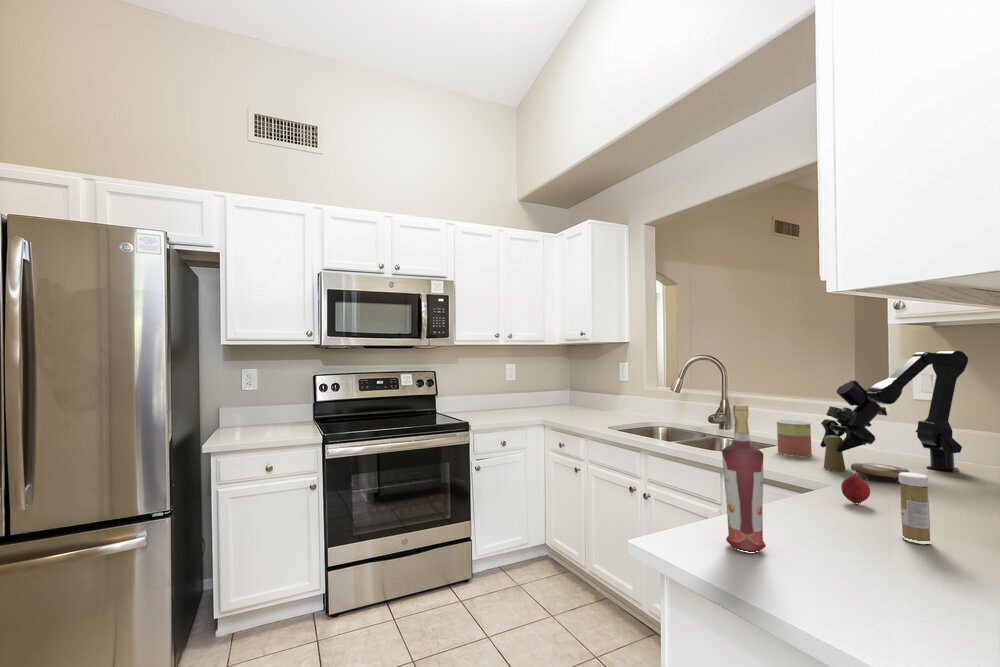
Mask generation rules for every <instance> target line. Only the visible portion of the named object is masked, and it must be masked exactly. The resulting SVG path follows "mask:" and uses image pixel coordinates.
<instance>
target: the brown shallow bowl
mask: <svg viewBox="0 0 1000 667" xmlns="http://www.w3.org/2000/svg"><path fill="white" fill-rule="evenodd" d="M850 469H851V470H852V471H854V472H856V473H858V474H859V475H858V477H860V478H861V479H869V480H870V475H871V476H875V477H876V476H878V477H884V478H885V477H886V478H895V479H894V481H895V482H896V483H899V473H902V472H910V470H908V468H906V467H905V468H904V467H899V466H896V465H890V464H882V463H872V462H871V463H870V462H858V463H852V464H850Z"/></svg>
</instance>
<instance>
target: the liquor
mask: <svg viewBox="0 0 1000 667" xmlns="http://www.w3.org/2000/svg"><path fill="white" fill-rule="evenodd" d="M732 410H733V418H734V433H733V443H731V444H729V445H726V446H725V447H724V448H723V449H722V450H721V456H722V458H721V459H722V466H723V467H722V468H723V469H722V470H723V471H722V472H723V480H724V481H723V482H724V490H725V500H726V501H725V502H726V516H727V531H728V532H727V533H728V536H727V537H726V538H725V540H726V542H727V543H728V544H729V545H730V546H731V547H732V548H733V547H734V548H736V549H739V550H743V551H748V552H756V551H759V552H761V551H762V550H764V549H765V548H766V543H765V541H764V537H763V536H764V535H763V529H764V526H763V525H764V524H763V521H764V520H763V518H764V517H763V508H764V506H763V503H764V501H763V498H764V453H763V451H761V449H759V448H757V447H756V446H754V445H751V437H750V432H749V424H748V423H749V422H748V418H749V405H747V404H733V405H732ZM734 548H733V549H734ZM760 550H761V551H760Z"/></svg>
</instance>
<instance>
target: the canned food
mask: <svg viewBox="0 0 1000 667" xmlns="http://www.w3.org/2000/svg"><path fill="white" fill-rule="evenodd" d="M811 428H812V427H811V422H808V421H801V420H777V421H776V434H777V435H776V436H777V437H776V438H777V453H778V452H779V453H778V454H780V453H782V454H781V455H783V454H786V455H785V456H789V455H793V456H792V457H799V456H807V457H811V456H810V455H812V456H813V453H812V452H813V451H812V430H811Z"/></svg>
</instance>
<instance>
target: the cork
mask: <svg viewBox="0 0 1000 667" xmlns="http://www.w3.org/2000/svg"><path fill="white" fill-rule="evenodd" d="M823 437H824V436H823ZM843 440H844V439H843V438H842V436H840V437H839V436H834V435H829V436H825V437H824V443H825V444H826V447H825V451H824V462H823V469H824V468H825V469H824V470H827V469H830V470H829V471H832V470H835V471H834V472H845V470H847V469H846V465H845V460H844V454H843V451H842V452H838V451H836V449H837V448H838V446H839V445H840V444H841V442H842V441H843Z"/></svg>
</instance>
